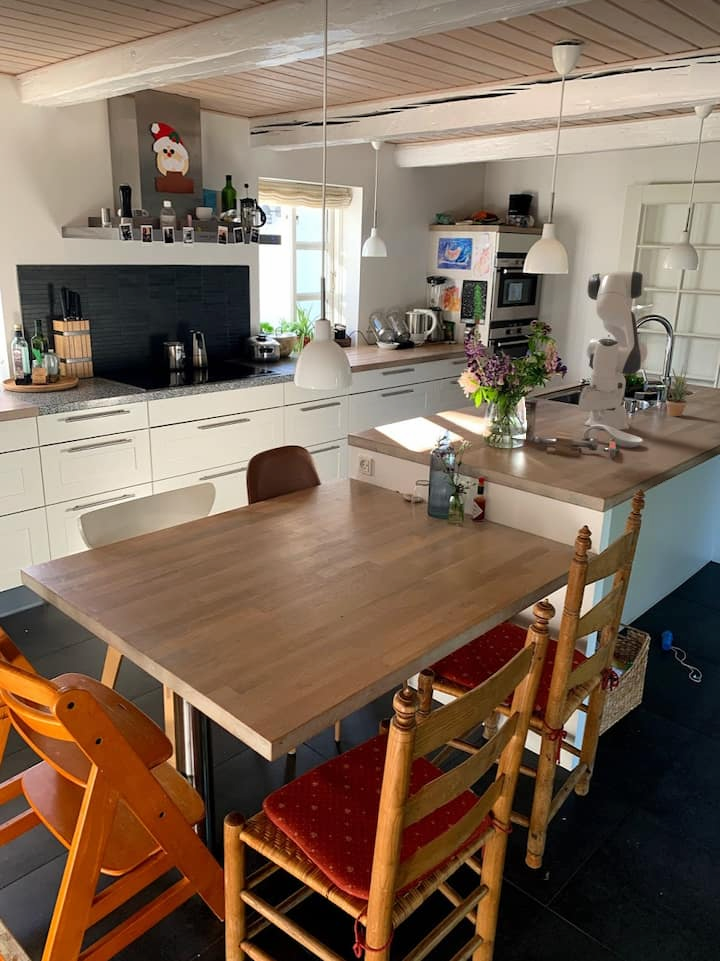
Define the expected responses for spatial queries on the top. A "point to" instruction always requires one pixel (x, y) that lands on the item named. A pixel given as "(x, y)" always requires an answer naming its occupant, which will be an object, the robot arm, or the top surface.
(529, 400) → the coffee box
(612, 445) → the latch lever
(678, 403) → the potted plant
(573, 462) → the top surface
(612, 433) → the spoon rest
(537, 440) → the hook rod
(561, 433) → the eye block
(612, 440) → the lever base
